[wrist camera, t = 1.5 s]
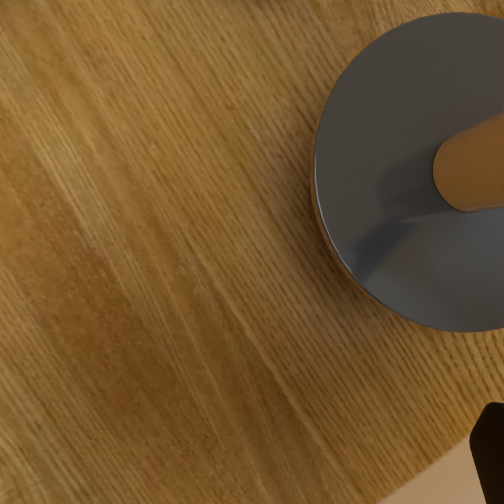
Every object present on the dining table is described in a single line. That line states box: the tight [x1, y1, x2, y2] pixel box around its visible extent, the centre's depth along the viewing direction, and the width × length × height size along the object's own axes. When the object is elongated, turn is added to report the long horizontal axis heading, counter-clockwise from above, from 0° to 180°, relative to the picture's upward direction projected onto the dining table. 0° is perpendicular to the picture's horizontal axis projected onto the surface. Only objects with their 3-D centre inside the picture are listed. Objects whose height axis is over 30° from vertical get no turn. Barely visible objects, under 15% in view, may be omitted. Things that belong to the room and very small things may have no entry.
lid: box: [309, 12, 504, 333], centre depth 15 cm, size 11×11×7 cm
